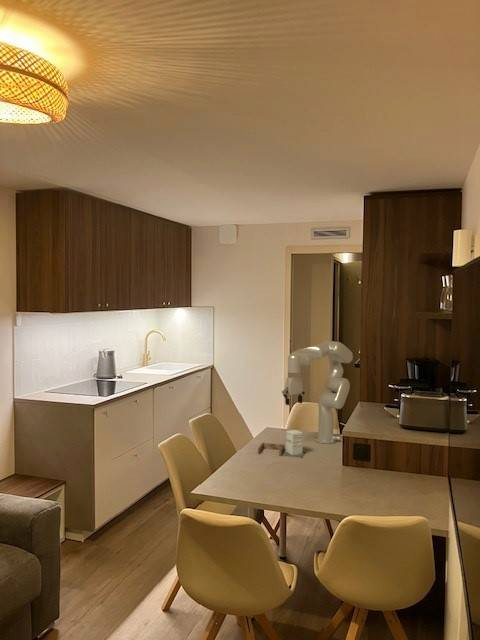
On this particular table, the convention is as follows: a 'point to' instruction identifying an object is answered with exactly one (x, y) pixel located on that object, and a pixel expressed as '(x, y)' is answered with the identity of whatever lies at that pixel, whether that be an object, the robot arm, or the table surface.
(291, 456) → the charcoal mat
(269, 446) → the walnut cradle
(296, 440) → the supplement box
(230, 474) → the table surface
